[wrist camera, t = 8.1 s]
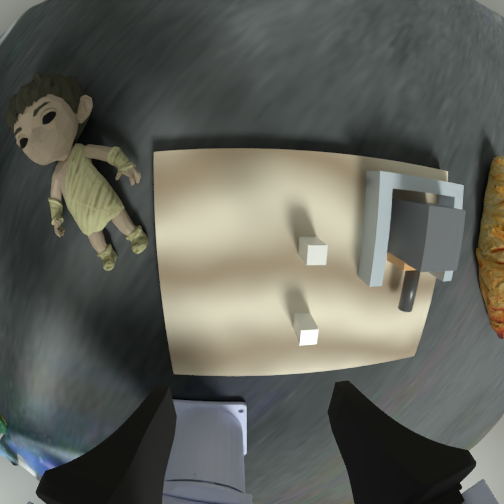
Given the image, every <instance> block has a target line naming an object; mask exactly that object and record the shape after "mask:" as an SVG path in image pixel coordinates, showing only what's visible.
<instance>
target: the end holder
mask: <svg viewBox="0 0 504 504" xmlns="http://www.w3.org/2000/svg"><path fill="white" fill-rule="evenodd" d="M393 188H394V189H402V190H410V191H418V192H425V193H432V194H439V201H438V204H439V205H443V206H448V207H453V208H457V209H461V210H462V204H463V188H464V185H459V184H455V183H450V182H445V181H440V180H434V179H429V178H423V177H417V176H411V175H405V174H398V173H391V172H384V171H366V191H365V210H364V224H363V235H362V246H361V255H360V263H359V271H358V277H359V278H360V279H361V280H362V281H363V282H365V283H366V284H367V285H368V286H369V287H375V286H382V282H383V276H384V270H385V263H386V256H387V248H388V240H389V230H390V220H391V207H392V190H393ZM429 273H430V274H431V275H433V276H435V277H436V278H438V279H440V280H441V281H451V279H452V274H453V271H437V272H429Z"/></svg>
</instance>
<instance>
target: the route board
mask: <svg viewBox="0 0 504 504" xmlns="http://www.w3.org/2000/svg"><path fill="white" fill-rule="evenodd" d="M366 171H384V172H391V173H398V174H405V175H411V176H417V177H423V178H429V179H434V180H440V181H445V182H448V171H444V170H439V169H435V168H430V167H425V166H420V165H415V164H410V163H404V162H398V161H392V160H386V159H379V158H372V157H365V156H357V155H348V154H339V153H329V152H317V151H303V150H286V149H255V148H219V149H189V150H171V151H158V152H154V208H155V228H156V244H157V257H158V268H159V278H160V287H161V296H162V304H163V312H164V319H165V326H166V332H167V339H168V345H169V351H170V356H171V362H172V367H173V373H174V374H181V375H202V376H261V375H283V374H297V373H309V372H320V371H329V370H337V369H345V368H352V367H359V366H365V365H371V364H377V363H382V362H388V361H393V360H398V359H403V358H407V357H412V356H414V355H415V353H416V350H417V347H418V344H419V341H420V338H421V334H422V331H423V328H424V324H425V321H426V317H427V314H428V310H429V306H430V302H431V298H432V294H433V290H434V285H435V280H436V277H435V276H433V275H431V274H430V273H429V272H420V277H419V282H418V287H417V292H416V296H415V301H414V305H413V309H412V311H411V312H403V311H401V310H399V309H398V305H399V300H400V296H401V291H402V286H403V281H404V275H405V271H403V270H402V269H400V268H398V267H397V266H395V265H394V264H392V263H390V262H389V261H387V256H386V263H385V270H384V276H383V282H382V286H375V287H369V286H368V285H367V284H366V283H365V282H363V281H362V280H361V279H360V278H359V277H358V271H359V263H360V255H361V246H362V235H363V224H364V210H365V191H366ZM392 198H396V199H405V200H414V201H422V202H429V203H434V204H438V201H439V194H432V193H425V192H418V191H410V190H402V189H394V188H393V190H392ZM299 236H300V237H318V238H319V239H320V240H322V241H323V242H324V243H325V244H327V245H328V249H327V261H326V265H306V264H305V262H304V261H303V260H302V258H301V257H300V256H299V255H298V249H299ZM387 255H388V253H387ZM294 313H311V315H312V317H313V319H314V321H315V323H316V325H317V327H318V329H319V331H318V338H317V344H314V345H300V346H299V343H298V340H297V338H296V335H295V332H294V329H293V321H294Z"/></svg>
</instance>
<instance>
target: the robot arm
mask: <svg viewBox="0 0 504 504" xmlns="http://www.w3.org/2000/svg"><path fill="white" fill-rule="evenodd" d="M241 409H242V410H241ZM328 415H329V420H330V424H331V428H332V432H333V434H334V437H335V440H336V442H337V445H338V447H339V450H340V453H341V455H342V458H343V460H344V463H345V465H346V468H347V472H348V475H349V479H350V484H351V488H352V493H353V498H354V504H498V502H497V500H496V498H495V497H494V495H493V494H492V492H491V490H490V489H489V487H488V485H487V484H486V482H485V481H484V479H482V480H481V481H479V482H478V483H476V484H475V485H474V486H472V487H471V488H469V489H468V490H466V491H465V492H464V493H462V494H461V493H460V491H459V490H461V489H462V486H461V484H460V482H461V481H462V480H463V479H464V478H465V477H466V476H467V475H468V474H469V473H470V472H471V471H472V470H473V469H474V468H475V466H476V461H475V460H474V458H473V457H472V455H471V454H470V452H469V451H468V450H465V449H460V448H455V447H451V446H447V445H444V444H441V443H438V442H435V441H432V440H430V439H428V438H425V437H423V436H421V435H419V434H417V433H415V432H413V431H411V430H409V429H408V428H406V427H404V426H403V425H401V424H399V423H398V422H396V421H395V420H394V419H392V418H391V417H389V416H388V415H387V414H385V413H384V412H383V411H382V410H380V409H379V408H378V407H377V406H376V405H374V404H373V403H372V402H371V401H370V400H369V399H368V398H367V397H365V396H364V395H363V394H362V393H361V392H360V391H359V390H358V389H357V388H356V387H355V386H354V385H353V384H351V383H350V382H349V381H341V382H336V383H335V387H334V391H333V395H332V398H331V402H330V406H329V409H328ZM246 453H247V406H246V403H244V402H210V401H189V400H175V399H173V398H172V394H171V390H170V387H168V386H157V385H156V386H155V387H154V388H153V390H152V391H151V392H150V393H149V395H148V396H147V397H146V399H145V400H144V401H143V402H142V403H141V405H140V406H139V407H138V408H137V409H136V410H135V411H134V413H133V414H132V415H131V416H130V417H129V418H128V419H127V420H126V421H125V422H124V423H123V424H122V425H121V426H120V427H119V428H118V429H117V430H116V431H115V432H114V433H113V434H112V435H110V436H109V437H108V438H107V439H105V440H104V441H103V442H102V443H100V444H99V445H97V446H96V447H95V448H93V449H92V450H90V451H89V452H87V453H85V454H84V455H82V456H80V457H78V458H76V459H74V460H72V461H70V462H68V463H66V464H64V465H61V466H58V467H56V468H53V469H50V470H47V471H45V473H44V474H43V476H42V478H41V480H40V483H39V485H38V487H37V490H36V494H37V496H38V497H39V498H40V499H41V500H42V501H44V502H45V503H46V504H253V502H252V494H246V493H245V476H244V455H245V454H246ZM27 504H33V503H31V502H28V503H27Z"/></svg>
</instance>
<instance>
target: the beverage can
mask: <svg viewBox="0 0 504 504" xmlns="http://www.w3.org/2000/svg"><path fill="white" fill-rule="evenodd" d="M5 431H6V422H5V420H4V418H3V417H2V416H1V414H0V439H1V437H2V436H3V434H4V432H5Z"/></svg>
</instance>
